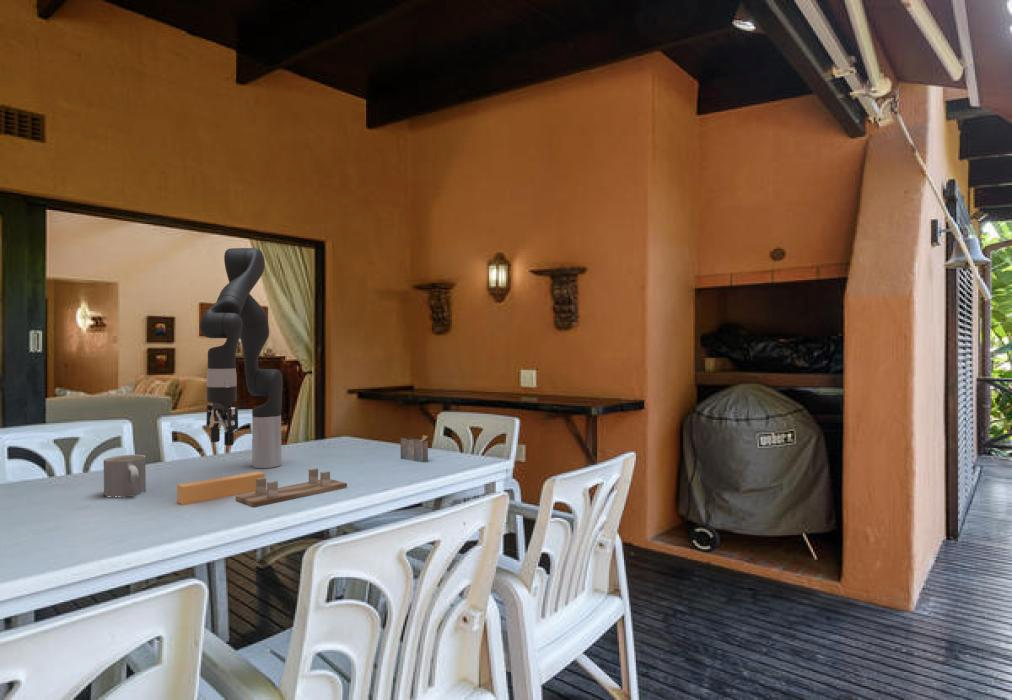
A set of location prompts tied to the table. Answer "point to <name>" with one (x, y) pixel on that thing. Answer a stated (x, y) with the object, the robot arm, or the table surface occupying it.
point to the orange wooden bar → (217, 488)
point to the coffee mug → (124, 475)
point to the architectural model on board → (414, 449)
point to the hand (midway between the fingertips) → (222, 443)
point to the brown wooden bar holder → (290, 489)
